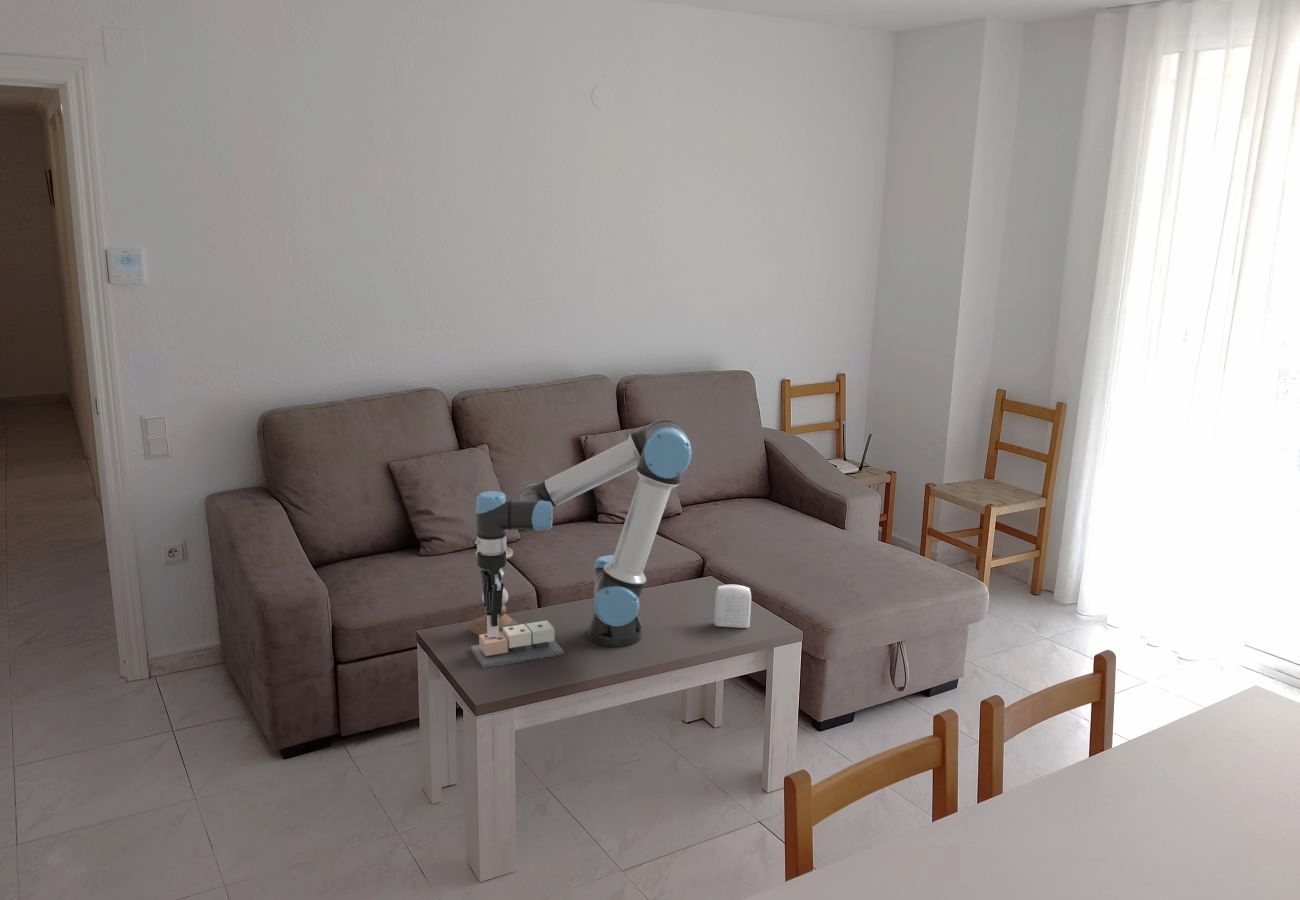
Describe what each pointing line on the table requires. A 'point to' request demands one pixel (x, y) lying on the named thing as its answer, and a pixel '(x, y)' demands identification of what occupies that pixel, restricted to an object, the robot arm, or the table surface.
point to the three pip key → (493, 644)
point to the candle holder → (504, 620)
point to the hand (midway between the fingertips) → (493, 635)
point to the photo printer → (732, 606)
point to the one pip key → (541, 632)
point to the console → (518, 653)
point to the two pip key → (517, 635)
